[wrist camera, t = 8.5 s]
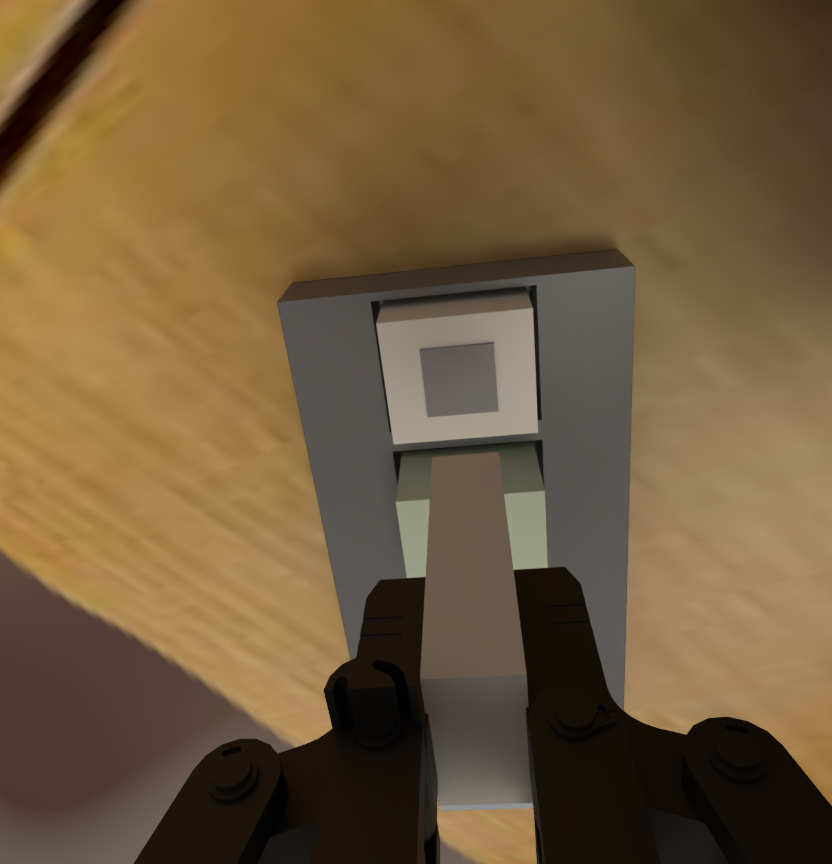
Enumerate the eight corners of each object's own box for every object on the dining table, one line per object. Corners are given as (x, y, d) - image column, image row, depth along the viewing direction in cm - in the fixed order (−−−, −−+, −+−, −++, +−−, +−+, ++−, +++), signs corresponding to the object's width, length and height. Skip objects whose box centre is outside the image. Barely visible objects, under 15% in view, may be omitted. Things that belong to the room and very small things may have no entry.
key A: (402, 451, 27) (395, 504, 23) (533, 441, 26) (545, 493, 23) (415, 545, 29) (410, 606, 25) (537, 537, 28) (549, 598, 25)
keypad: (292, 283, 26) (277, 302, 24) (617, 249, 25) (635, 265, 23) (376, 718, 36) (371, 761, 34) (611, 707, 35) (622, 751, 33)
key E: (385, 293, 26) (375, 324, 22) (522, 279, 25) (533, 309, 22) (400, 402, 27) (393, 446, 24) (527, 391, 27) (538, 434, 24)
